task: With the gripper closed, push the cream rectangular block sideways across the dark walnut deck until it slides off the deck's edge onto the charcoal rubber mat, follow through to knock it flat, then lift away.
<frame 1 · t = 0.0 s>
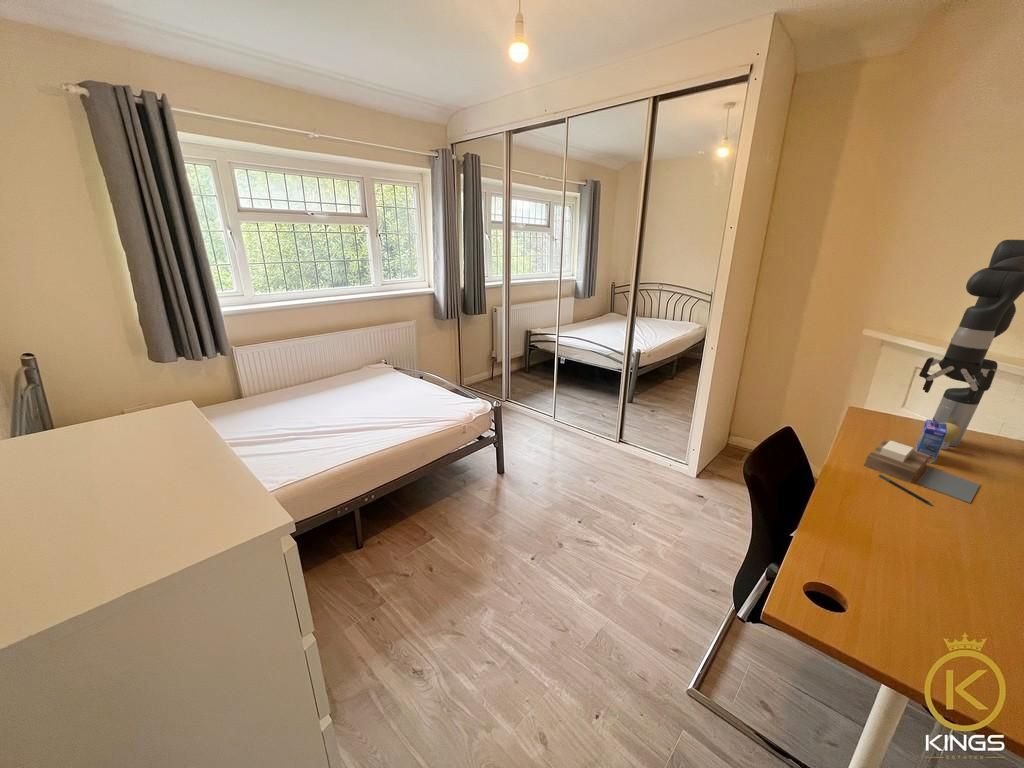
hand: (946, 396, 119), 29 cm above the table, fingers open, 8 cm apart
pen: (903, 491, 125), on the table
deck: (894, 465, 137), on the table
cream rectangular block: (896, 450, 136), point 5 cm above the table, touching deck
ink cartridge box: (923, 456, 144), on the table
mat: (947, 484, 128), on the table
light bulb: (939, 448, 149), on the table
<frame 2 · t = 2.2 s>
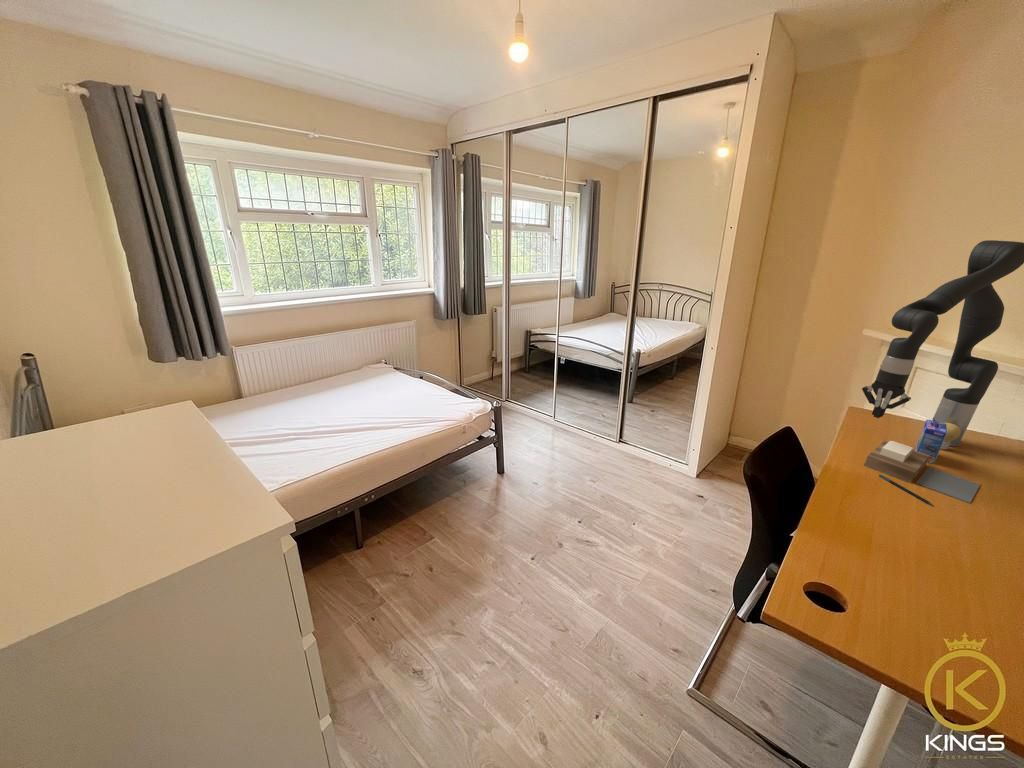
hand: (876, 416, 139), 15 cm above the table, fingers closed
nothing on the table moved.
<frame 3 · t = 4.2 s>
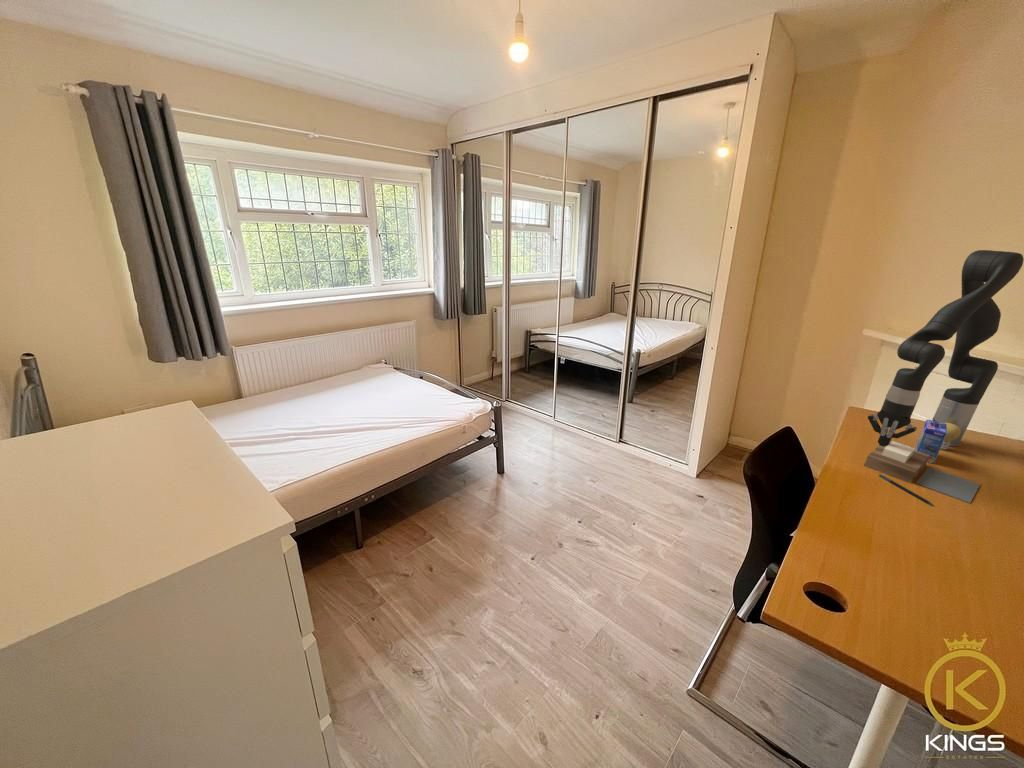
hand: (882, 445, 139), 5 cm above the table, fingers closed
cream rectangular block: (898, 451, 136), point 5 cm above the table, touching deck, gripper
everything else where it was.
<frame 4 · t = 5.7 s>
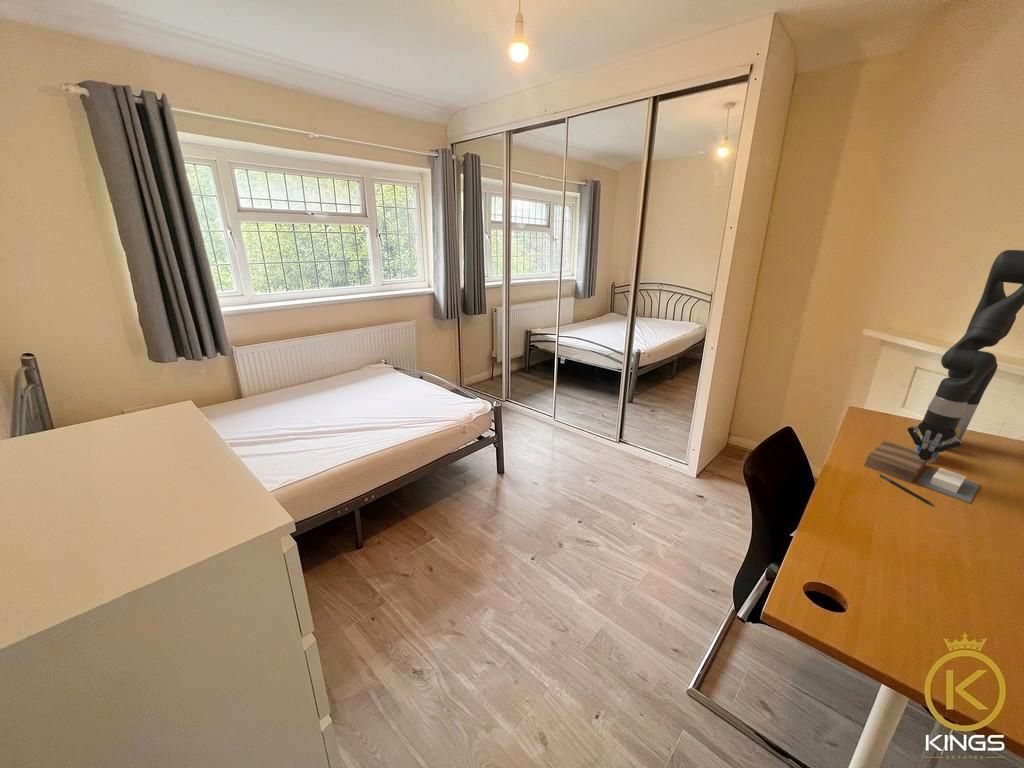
hand: (923, 459, 131), 6 cm above the table, fingers closed
cream rectangular block: (947, 480, 127), point 2 cm above the table, tilted 180°, touching mat
everything else where it was.
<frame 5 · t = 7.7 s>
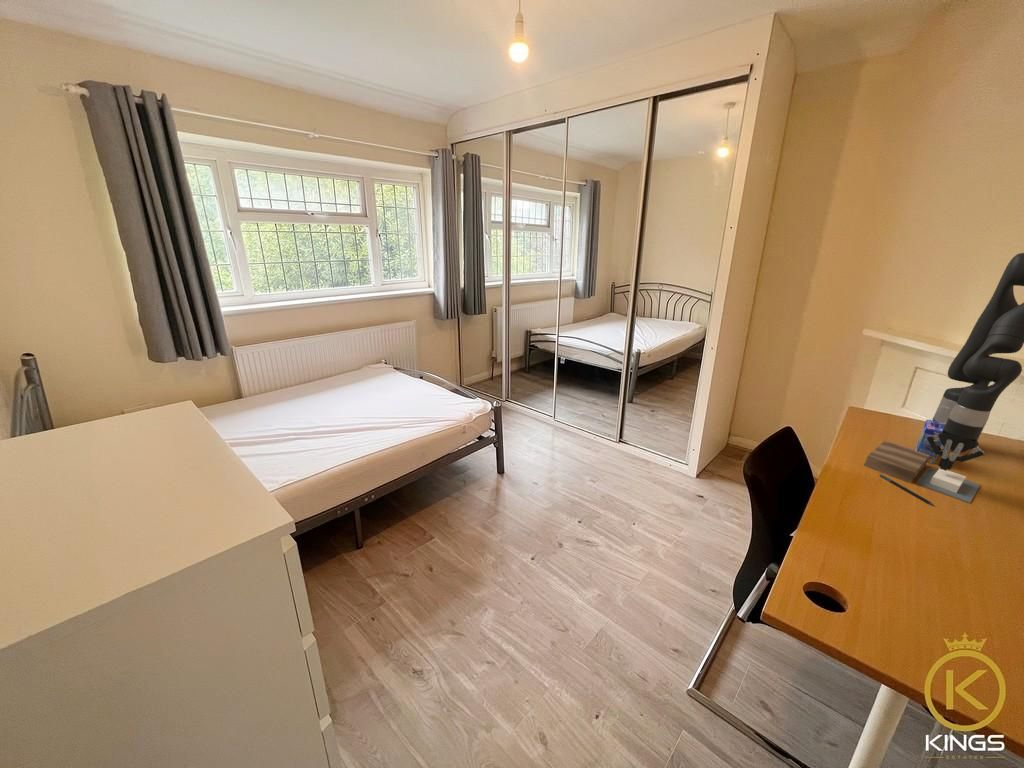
hand: (943, 468, 128), 5 cm above the table, fingers closed
nothing on the table moved.
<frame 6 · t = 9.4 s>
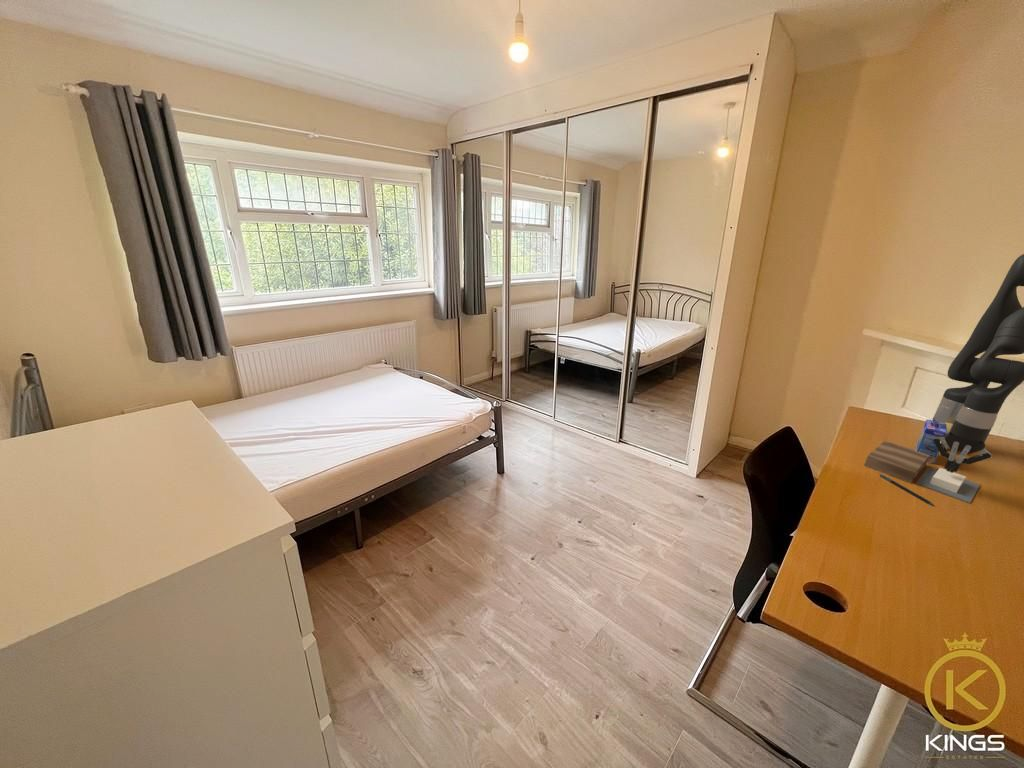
hand: (949, 471, 127), 4 cm above the table, fingers closed
nothing on the table moved.
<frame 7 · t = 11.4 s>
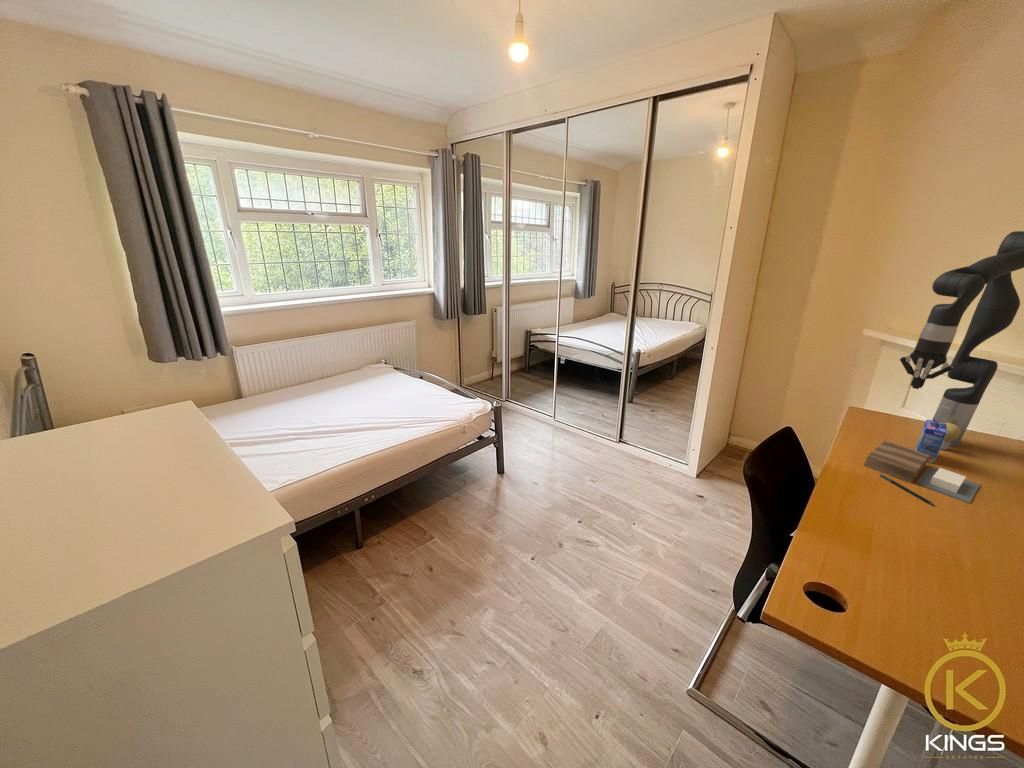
hand: (915, 387, 134), 26 cm above the table, fingers closed
nothing on the table moved.
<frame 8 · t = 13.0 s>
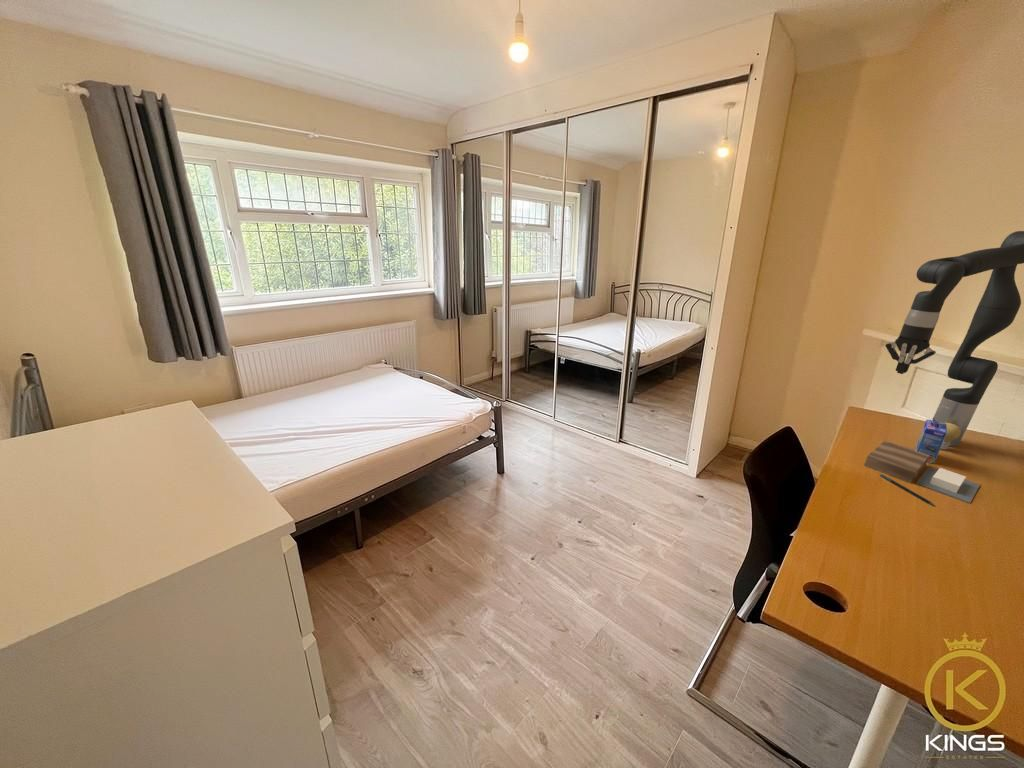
hand: (900, 373, 139), 29 cm above the table, fingers closed
nothing on the table moved.
at the end: cream rectangular block point 1.5 cm above the table; cream rectangular block inside the target area on the mat (0.9 cm from its centre), point 1.5 cm above the mat's base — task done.
